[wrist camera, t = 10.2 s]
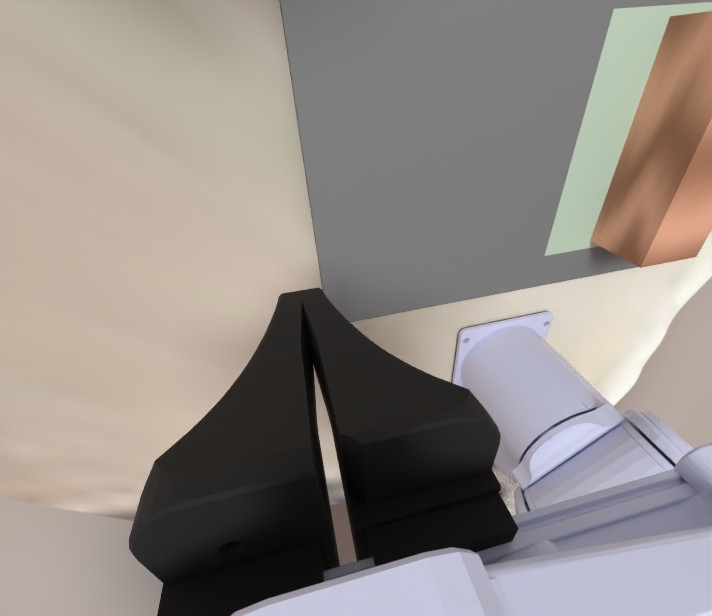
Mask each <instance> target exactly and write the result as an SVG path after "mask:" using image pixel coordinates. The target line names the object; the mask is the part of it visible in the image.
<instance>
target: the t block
mask: <svg viewBox="0 0 712 616" xmlns="http://www.w3.org/2000/svg"><path fill="white" fill-rule="evenodd" d="M711 230H712V11H708V12H700V13H693V14H685V15H677V16H670V18H669V21H668V24H667V27H666V30H665V32H664V35H663V38H662V41H661V44H660V46H659V49H658V52H657V55H656V58H655V60H654V63H653V66H652V69H651V72H650V74H649V77H648V80H647V83H646V86H645V88H644V91H643V94H642V97H641V100H640V102H639V105H638V108H637V111H636V114H635V116H634V119H633V122H632V125H631V128H630V130H629V133H628V136H627V139H626V142H625V144H624V147H623V150H622V153H621V156H620V158H619V161H618V164H617V167H616V170H615V172H614V175H613V178H612V181H611V184H610V186H609V189H608V192H607V195H606V198H605V200H604V203H603V206H602V209H601V212H600V214H599V217H598V220H597V223H596V226H595V228H594V231H593V234H592V237H591V240H590V241H591V242H593V243H595V244H597V245H598V246H600V247H602V248H604V249H606V250H608V251H610V252H612V253H614V254H616V255H618V256H620V257H621V258H623V259H625V260H627V261H629V262H631V263H633V264H635V265H637V266H639V267H646V266H651V265H656V264H662V263H667V262H672V261H677V260H682V259H688V258H693V257H696V256H697V254H698V252H699V251H700V249H701V247H702V245H703V244H704V242H705V240H706V238H707V237H708V235H709V233H710V231H711Z"/></svg>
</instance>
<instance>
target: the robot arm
mask: <svg viewBox="0 0 712 616" xmlns="http://www.w3.org/2000/svg"><path fill="white" fill-rule="evenodd" d="M552 319H553V314H552V313H550V312H542V313H537V314H532V315H527V316H522V317H517V318H513V319H508V320H503V321H498V322H493V323H488V324H483V325H478V326H473V327H469V328H464V329H462V330H461V331H460V333H459V338H458V345H457V352H456V359H455V366H454V374H453V381H452V383H450V382H448V381H445V380H442V379H439V378H437V377H434V376H432V375H430V374H428V373H425V372H423V371H421V370H419V369H417V368H415V367H413V366H411V365H409V364H407V363H405V362H403V361H402V360H400V359H398V358H396V357H394V356H393V355H391V354H389V353H388V352H386V351H385V350H383V349H382V348H380V347H379V346H378V345H376V344H375V343H373V342H372V341H371V340H369V339H368V338H367V337H366V336H364V335H363V334H362V333H361V332H360V331H359V330H357V329H356V328H355V327H354V326H353V325H352V324H351V323H350V322H349V321H348V320H347V319H346V318H345V317H344V316H343V315H342V314H341V313H340V312H339V311H338V310H337V309H336V308H335V307H334V305H333V304H332V303H331V302H330V301H329V299H328V298H327V297H326V295H325V294H324V292H323V290H321V289H320V288H313V289H307V290H301V291H295V292H289V293H283V294H281V295H280V296H279V298H278V303H277V306H276V309H275V312H274V314H273V317H272V319H271V322H270V324H269V326H268V328H267V331H266V333H265V335H264V337H263V339H262V340H261V342H260V344H259V346H258V348H257V350H256V351H255V353H254V355H253V356H252V358H251V360H250V361H249V363H248V364H247V366H246V367H245V369H244V370H243V372H242V373H241V374H240V376H239V377H238V378H237V380H236V381H235V382H234V384H233V385H232V386H231V387H230V389H229V390H228V391H227V392H226V394H225V395H224V396H223V397H222V398H221V400H220V401H219V402H218V403H217V404H216V405H215V406H214V407H213V408H212V409H211V410H210V411H209V412H208V413H207V414H206V416H205V417H204V418H203V419H202V420H201V421H200V422H199V423H198V424H196V425H195V426H194V427H193V428H192V429H191V430H190V431H189V432H188V433H187V434H186V435H184V436H183V437H182V438H181V439H180V440H179V441H178V442H176V443H175V444H174V445H173V446H172V447H171V448H170V449H168V450H167V451H166V452H165V453H164V454H163V455H161V456H160V457H159V458H158V459H156V460H155V462H154V464H153V467H152V470H151V472H150V475H149V477H148V479H147V481H146V484H145V487H144V489H143V492H142V495H141V498H140V502H139V505H138V509H137V512H136V516H135V519H134V523H133V526H132V530H131V534H130V538H129V549H130V551H131V552H132V554H133V555H134V556H135V558H136V559H137V560H138V561H139V562H140V563H141V564H143V565H144V566H145V567H146V568H147V569H148V570H149V571H150V572H152V573H153V574H154V575H155V576H156V577H157V578H158V579H159V580H161V581H162V582H163V588H162V593H161V599H160V604H159V609H158V615H157V616H712V443H710V444H706V445H703V446H700V447H697V448H695V449H693V448H692V447H691V446H690V445H689V444H688V443H686V442H685V441H684V440H683V439H682V438H681V437H680V436H678V435H677V434H676V433H675V432H674V431H673V430H671V429H670V428H669V427H668V426H667V425H666V424H665V423H664V422H662V421H661V420H660V419H659V418H658V417H657V416H655V415H654V414H653V413H652V412H651V411H648V410H638V409H636V408H631V409H629V410H628V411H626V412H625V414H626V415H627V416H628V417H627V416H626V415H624V414H623V413H622V412H620V411H619V410H617V409H616V408H615V407H614V406H613V405H611V404H610V403H609V402H608V401H607V400H606V399H605V398H604V397H603V396H602V395H601V394H600V393H599V392H598V391H597V390H596V389H595V388H594V387H593V386H592V385H591V384H590V383H589V382H588V381H586V380H585V379H584V378H583V377H582V376H581V375H580V374H579V373H578V372H577V371H576V370H575V369H574V368H573V367H572V366H571V365H570V364H569V363H568V362H567V361H566V360H565V359H564V358H563V357H562V356H560V355H559V354H558V353H557V352H556V351H555V350H554V349H553V348H552V347H551V346H550V345H549V344H548V343H547V342H546V341H545V340H546V337H547V334H548V331H549V328H550V325H551V322H552ZM464 339H465V340H464ZM312 359H313V360H312ZM313 364H314V368H315V371H316V375H317V378H318V382H319V385H320V388H321V392H322V395H323V399H324V402H325V405H326V409H327V412H328V416H329V419H330V423H331V427H332V432H333V437H334V442H335V447H336V453H337V458H338V463H339V468H340V474H341V479H342V484H343V489H344V495H345V500H346V505H347V511H348V515H349V521H350V526H351V532H352V537H353V542H354V547H355V553H356V558H357V561H356V562H353V563H349V564H346V565H343V566H340V563H339V557H338V551H337V545H336V539H335V533H334V527H333V521H332V515H331V509H330V502H329V496H328V490H327V484H326V478H325V472H324V466H323V460H322V453H321V447H320V441H319V435H318V426H317V415H316V399H315V384H314V368H313ZM493 463H494V464H495V465H496V466H497V467H498V468H499V469H500V470H501V471H502V472H503V473H504V474H506V475H507V476H508V477H510V478H512V479H513V480H515V481H517V482H518V483H519V484H520V486H519V487H517V488H516V490H515V492H514V499H515V509H516V514H517V515H514V516H511V514H510V512H509V510H508V509H507V507H506V505H505V503H504V501H503V500H502V498H501V496H500V494H499V491H500V489H501V487H500V483H499V482H498V480H497V478H496V476H495V475H494V473H493V471H492V466H493Z"/></svg>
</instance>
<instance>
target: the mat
mask: <svg viewBox="0 0 712 616" xmlns="http://www.w3.org/2000/svg"><path fill="white" fill-rule="evenodd" d="M280 6H281V13H282V20H283V27H284V33H285V40H286V47H287V53H288V60H289V67H290V74H291V80H292V87H293V94H294V100H295V107H296V114H297V120H298V127H299V134H300V141H301V147H302V154H303V161H304V167H305V174H306V181H307V187H308V194H309V201H310V208H311V214H312V221H313V228H314V234H315V241H316V248H317V255H318V261H319V268H320V275H321V281H322V288H323V292H324V294H325V295H326V297H327V298H328V299H329V301H330V302H331V303H332V304H333V305H334V307H335V308H336V309H337V310H338V311H339V312H340V313H341V314H342V315H343V316H344V317H345V318H346V319H347V320H348V321H349V322H354V321H359V320H364V319H369V318H374V317H380V316H385V315H390V314H395V313H400V312H406V311H411V310H416V309H421V308H426V307H432V306H437V305H442V304H447V303H453V302H458V301H463V300H468V299H473V298H479V297H484V296H489V295H494V294H499V293H505V292H510V291H515V290H520V289H525V288H531V287H536V286H541V285H546V284H551V283H557V282H562V281H567V280H572V279H578V278H583V277H588V276H593V275H598V274H604V273H609V272H614V271H619V270H624V269H630V268H635V267H639V266H637V265H635V264H633V263H631V262H629V261H627V260H625V259H623V258H621V257H620V256H618V255H616V254H614V253H612V252H610V251H608V250H606V249H604V248H602V247H600V246H598V245H597V244H595V243H593V242H591V241H590V240H591V237H592V234H593V231H594V228H595V226H596V223H597V220H598V217H599V214H600V212H601V209H602V206H603V203H604V200H605V198H606V195H607V192H608V189H609V186H610V184H611V181H612V178H613V175H614V172H615V170H616V167H617V164H618V161H619V158H620V156H621V153H622V150H623V147H624V144H625V142H626V139H627V136H628V133H629V130H630V128H631V125H632V122H633V119H634V116H635V114H636V111H637V108H638V105H639V102H640V100H641V97H642V94H643V91H644V88H645V86H646V83H647V80H648V77H649V74H650V72H651V69H652V66H653V63H654V60H655V58H656V55H657V52H658V49H659V46H660V44H661V41H662V38H663V35H664V32H665V30H666V27H667V24H668V21H669V18H670V16H677V15H685V14H693V13H700V12H708V11H712V0H280Z"/></svg>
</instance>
